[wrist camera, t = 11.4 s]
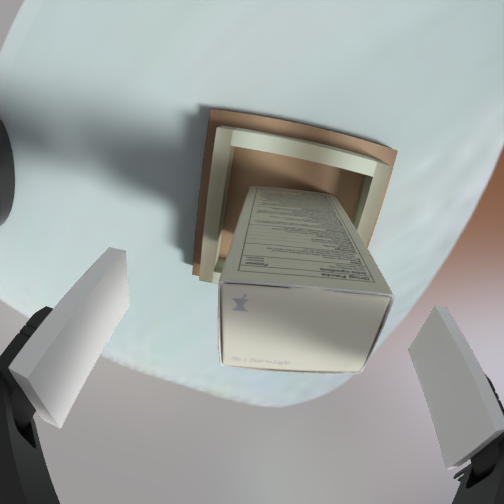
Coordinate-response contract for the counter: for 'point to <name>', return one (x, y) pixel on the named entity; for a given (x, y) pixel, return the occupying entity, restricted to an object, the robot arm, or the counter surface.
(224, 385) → the counter surface
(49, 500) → the robot arm
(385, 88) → the counter surface
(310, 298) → the skincare box
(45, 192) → the counter surface
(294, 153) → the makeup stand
